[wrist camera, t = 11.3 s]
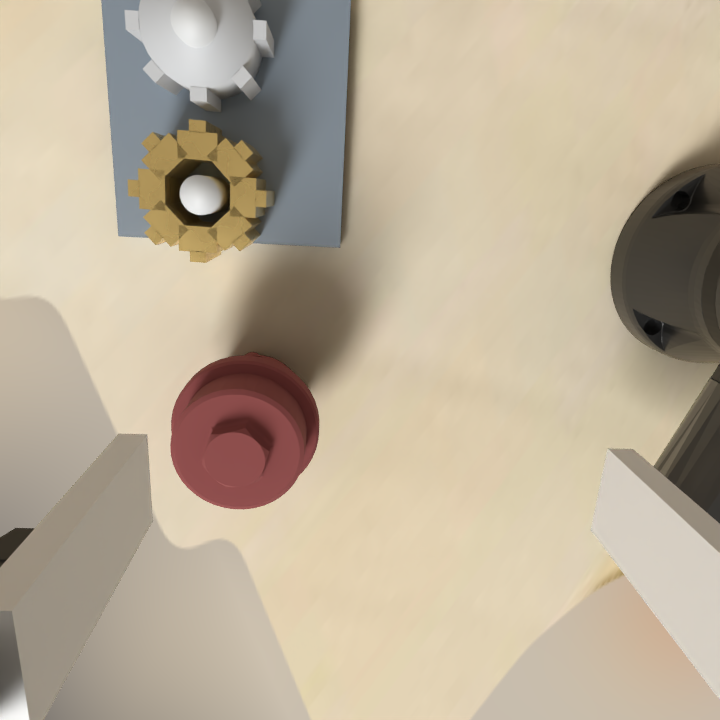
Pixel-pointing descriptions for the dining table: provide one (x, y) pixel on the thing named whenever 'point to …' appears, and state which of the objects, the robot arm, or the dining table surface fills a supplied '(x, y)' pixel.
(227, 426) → the mechanical component
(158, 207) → the brass gear
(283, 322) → the dining table surface
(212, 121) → the gear board
